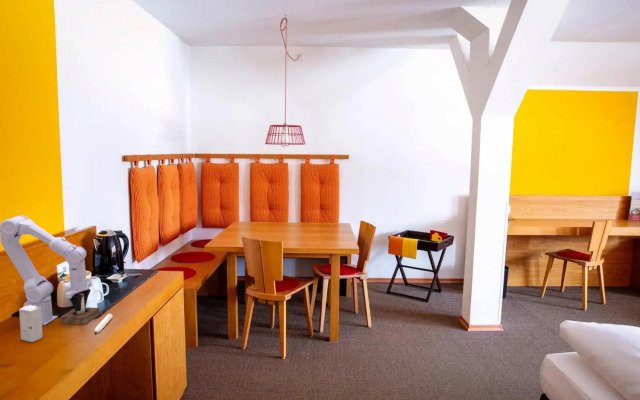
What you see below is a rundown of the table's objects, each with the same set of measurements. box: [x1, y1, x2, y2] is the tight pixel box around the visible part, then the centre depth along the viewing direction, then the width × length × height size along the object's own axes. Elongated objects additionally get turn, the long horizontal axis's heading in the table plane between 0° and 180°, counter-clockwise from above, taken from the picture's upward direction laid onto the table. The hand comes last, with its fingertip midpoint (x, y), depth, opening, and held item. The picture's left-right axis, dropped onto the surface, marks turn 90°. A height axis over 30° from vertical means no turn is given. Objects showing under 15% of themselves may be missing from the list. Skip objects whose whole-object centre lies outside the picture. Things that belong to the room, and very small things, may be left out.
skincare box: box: [18, 305, 43, 343], centre depth 159 cm, size 6×4×12 cm
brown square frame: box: [60, 306, 100, 326], centre depth 177 cm, size 10×10×3 cm
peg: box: [77, 294, 85, 315], centre depth 177 cm, size 3×3×9 cm
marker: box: [93, 313, 114, 334], centre depth 171 cm, size 3×2×16 cm
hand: (80, 308), depth 177 cm, fingers closed on peg, 3 cm apart
